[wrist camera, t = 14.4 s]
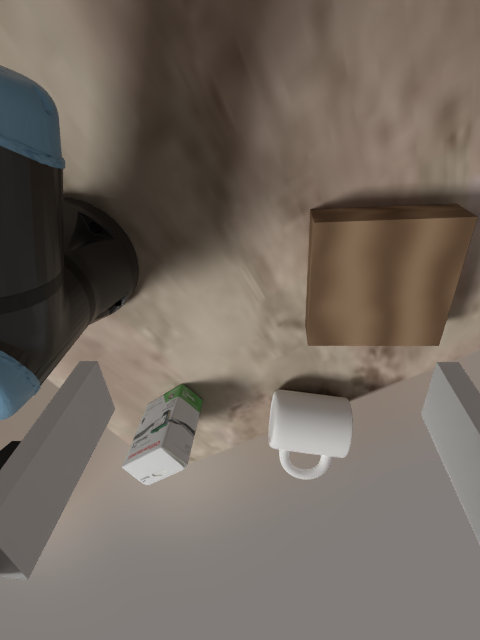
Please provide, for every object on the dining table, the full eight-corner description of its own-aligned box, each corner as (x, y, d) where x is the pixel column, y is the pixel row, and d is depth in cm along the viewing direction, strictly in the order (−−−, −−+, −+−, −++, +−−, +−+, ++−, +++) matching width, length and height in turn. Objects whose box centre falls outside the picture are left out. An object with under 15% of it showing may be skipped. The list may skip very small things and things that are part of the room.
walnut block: (305, 322, 47) (307, 345, 42) (310, 208, 39) (314, 222, 34) (423, 322, 45) (438, 345, 41) (454, 202, 37) (477, 216, 33)
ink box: (182, 382, 54) (161, 446, 44) (204, 401, 56) (189, 467, 46) (145, 404, 57) (118, 469, 48) (167, 422, 59) (145, 488, 49)
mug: (263, 465, 54) (331, 474, 54) (267, 485, 46) (346, 495, 45) (272, 386, 55) (338, 394, 55) (277, 391, 47) (355, 401, 46)
